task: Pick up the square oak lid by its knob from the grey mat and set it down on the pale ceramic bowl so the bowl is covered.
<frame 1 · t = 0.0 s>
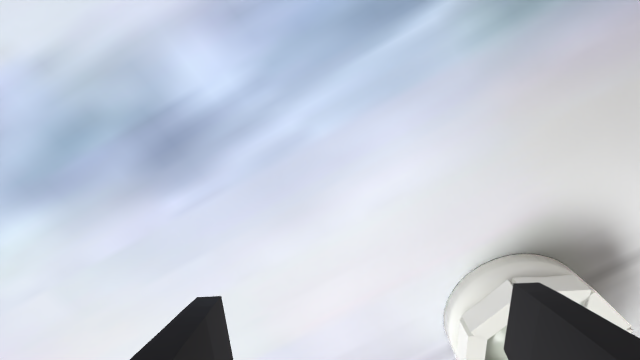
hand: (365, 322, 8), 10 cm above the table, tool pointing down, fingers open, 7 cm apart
bowl: (512, 313, 21), on the table
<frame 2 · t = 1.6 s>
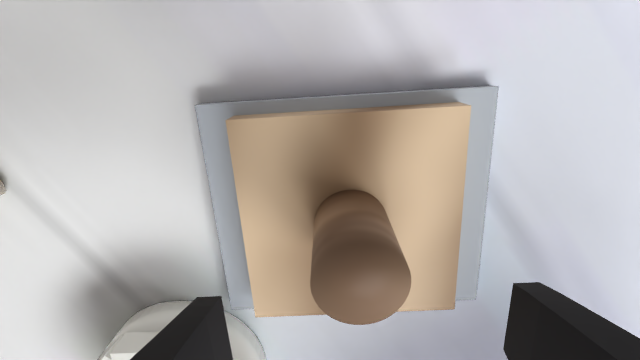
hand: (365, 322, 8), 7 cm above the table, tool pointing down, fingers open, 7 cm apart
mat: (347, 206, 15), on the table
lid: (348, 211, 15), point 1 cm above the table, touching mat
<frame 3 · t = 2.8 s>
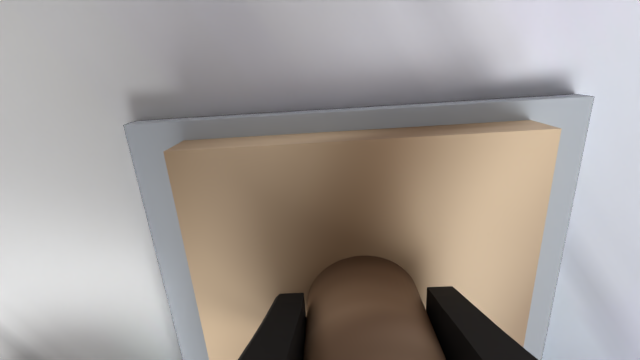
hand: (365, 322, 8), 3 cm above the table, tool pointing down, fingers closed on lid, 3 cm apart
mat: (356, 265, 11), on the table
lid: (358, 277, 10), point 1 cm above the table, touching gripper, mat
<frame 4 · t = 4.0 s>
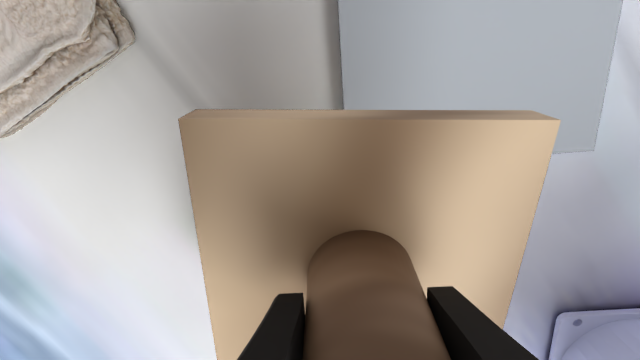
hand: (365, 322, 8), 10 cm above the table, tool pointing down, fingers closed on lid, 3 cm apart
mat: (470, 52, 16), on the table
lid: (356, 251, 11), point 7 cm above the table, touching gripper
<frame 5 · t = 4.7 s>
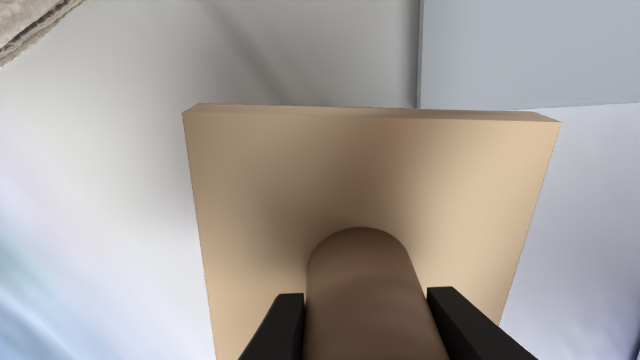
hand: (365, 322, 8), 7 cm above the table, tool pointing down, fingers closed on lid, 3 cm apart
lid: (355, 247, 11), point 5 cm above the table, touching gripper
when the fingers open (7 cm above the table, at t = 5.1 s): lid stays where it is, resting on bowl.
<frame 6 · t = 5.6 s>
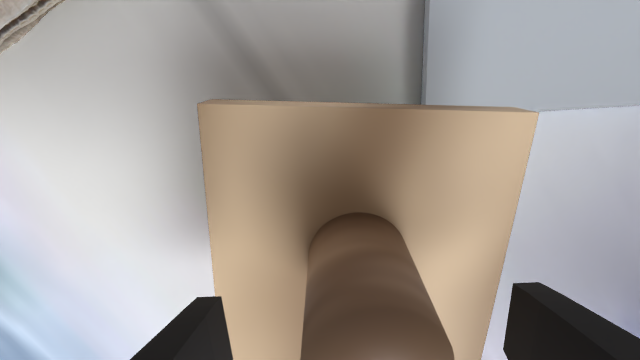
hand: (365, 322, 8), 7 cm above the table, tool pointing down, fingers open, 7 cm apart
lid: (354, 237, 11), point 3 cm above the table, touching bowl
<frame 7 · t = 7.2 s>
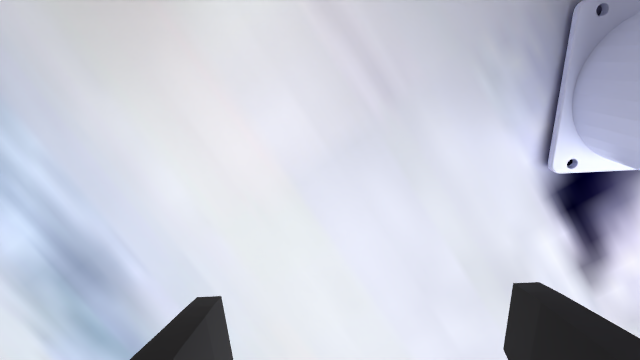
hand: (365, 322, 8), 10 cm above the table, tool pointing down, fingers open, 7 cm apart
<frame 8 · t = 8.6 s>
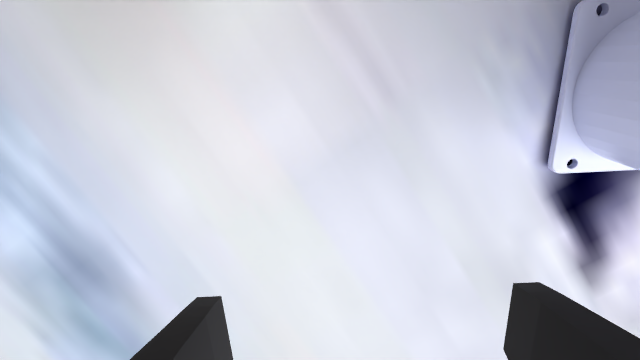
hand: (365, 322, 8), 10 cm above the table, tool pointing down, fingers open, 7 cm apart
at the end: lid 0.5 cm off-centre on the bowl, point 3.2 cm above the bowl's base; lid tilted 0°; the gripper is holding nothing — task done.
